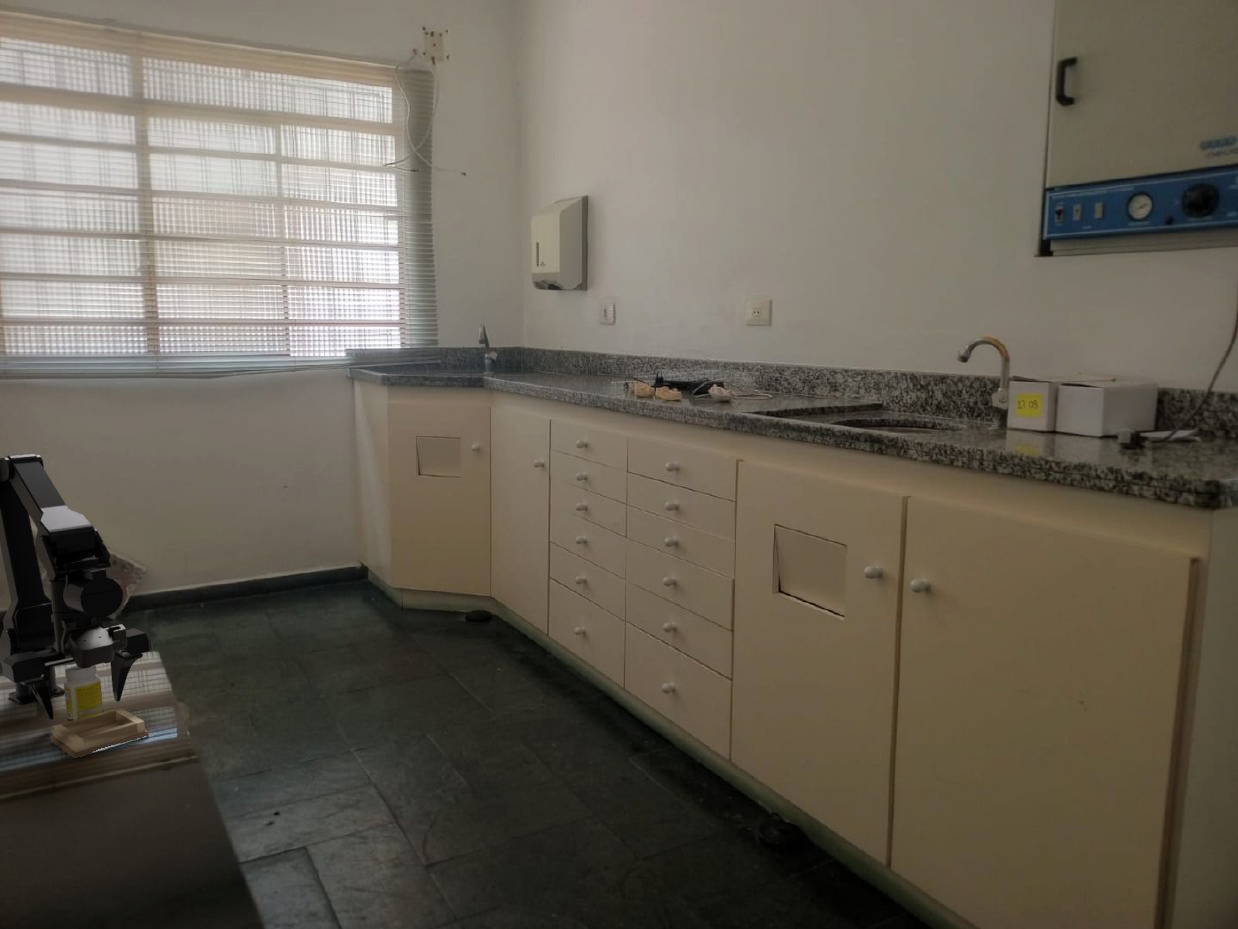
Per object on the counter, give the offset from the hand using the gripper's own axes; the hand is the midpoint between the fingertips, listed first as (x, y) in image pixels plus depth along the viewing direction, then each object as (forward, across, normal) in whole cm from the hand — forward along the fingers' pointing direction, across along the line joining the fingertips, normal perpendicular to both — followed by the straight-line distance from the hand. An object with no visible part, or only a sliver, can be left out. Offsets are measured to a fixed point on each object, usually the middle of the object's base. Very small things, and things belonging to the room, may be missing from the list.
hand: (84, 709), depth 142 cm
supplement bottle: (+2, 0, 0) cm, 2 cm away
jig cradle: (+2, -2, -10) cm, 10 cm away
